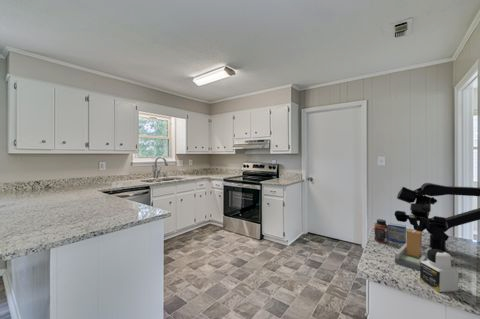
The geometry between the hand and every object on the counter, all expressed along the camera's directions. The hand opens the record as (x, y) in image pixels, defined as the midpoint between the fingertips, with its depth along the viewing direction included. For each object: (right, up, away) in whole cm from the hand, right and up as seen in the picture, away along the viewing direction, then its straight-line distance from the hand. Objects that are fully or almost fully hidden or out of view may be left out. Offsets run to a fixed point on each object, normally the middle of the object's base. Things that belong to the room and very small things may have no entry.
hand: (416, 235), depth 98 cm
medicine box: (+3, -9, +17) cm, 19 cm away
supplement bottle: (-6, -9, +16) cm, 19 cm away
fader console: (-4, -9, -4) cm, 11 cm away
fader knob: (-4, -7, -4) cm, 9 cm away
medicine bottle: (-11, -10, -23) cm, 27 cm away
